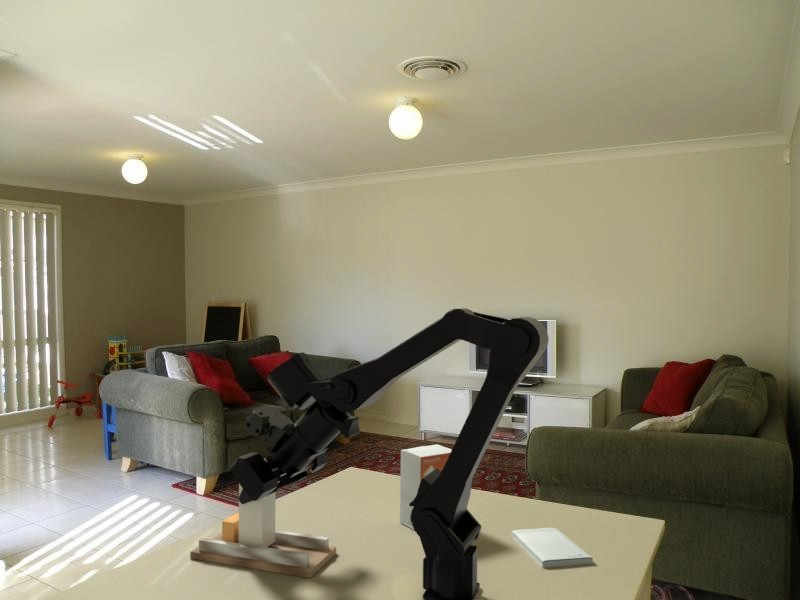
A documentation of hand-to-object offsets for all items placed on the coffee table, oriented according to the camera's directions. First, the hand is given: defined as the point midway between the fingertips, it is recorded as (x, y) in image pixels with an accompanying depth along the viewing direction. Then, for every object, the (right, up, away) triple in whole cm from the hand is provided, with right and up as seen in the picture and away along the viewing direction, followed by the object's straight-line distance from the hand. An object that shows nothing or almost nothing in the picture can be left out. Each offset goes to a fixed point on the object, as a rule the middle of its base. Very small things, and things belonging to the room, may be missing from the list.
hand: (249, 497), depth 97 cm
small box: (+28, -9, +13) cm, 32 cm away
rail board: (+2, -9, -1) cm, 9 cm away
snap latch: (-2, -7, +1) cm, 8 cm away
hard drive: (+47, -10, +3) cm, 48 cm away
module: (+1, -7, 0) cm, 7 cm away
